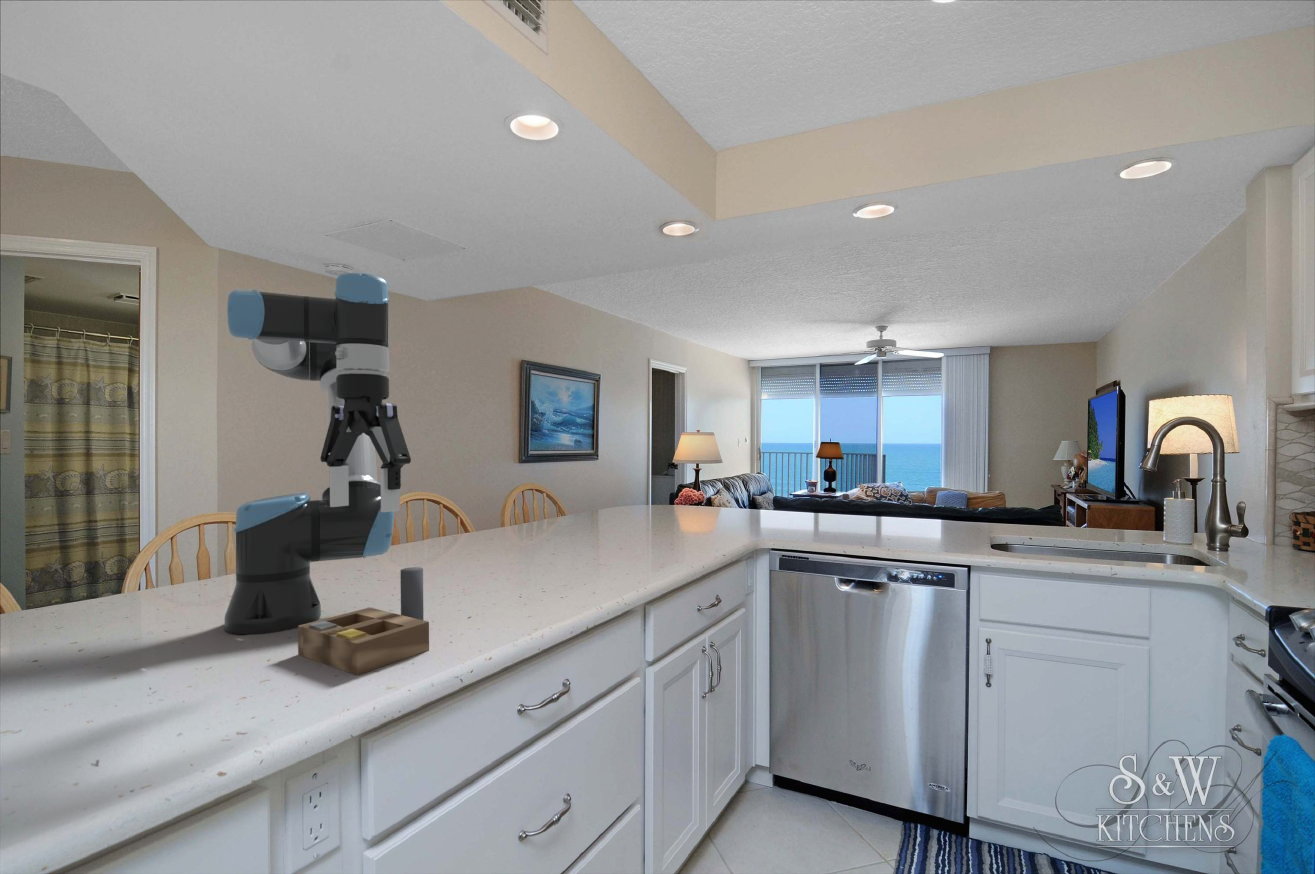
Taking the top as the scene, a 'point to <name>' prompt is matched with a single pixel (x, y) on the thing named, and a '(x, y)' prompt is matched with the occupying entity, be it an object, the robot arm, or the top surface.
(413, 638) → the socket board
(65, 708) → the top surface
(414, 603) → the plug
